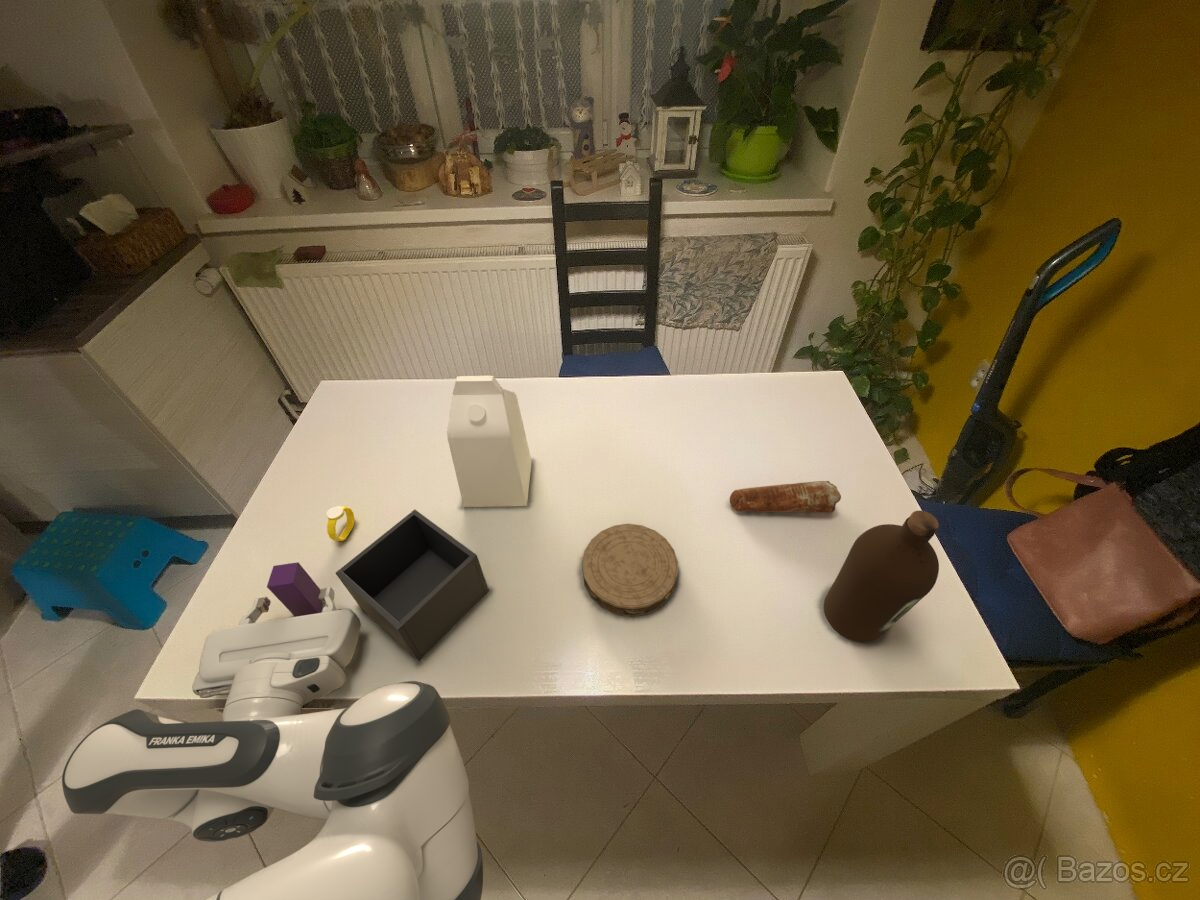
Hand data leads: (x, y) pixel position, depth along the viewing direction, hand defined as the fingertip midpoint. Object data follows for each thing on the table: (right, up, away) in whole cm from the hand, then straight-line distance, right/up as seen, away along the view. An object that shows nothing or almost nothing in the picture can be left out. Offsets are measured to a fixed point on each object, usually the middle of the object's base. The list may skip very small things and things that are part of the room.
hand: (296, 594), depth 78 cm
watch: (+1, +7, +15) cm, 16 cm away
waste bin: (+18, -2, +5) cm, 19 cm away
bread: (+81, +11, +18) cm, 83 cm away
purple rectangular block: (0, -3, +5) cm, 6 cm away
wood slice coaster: (+52, +1, +8) cm, 52 cm away
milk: (+27, +15, +23) cm, 38 cm away
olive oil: (+87, -4, +3) cm, 87 cm away
